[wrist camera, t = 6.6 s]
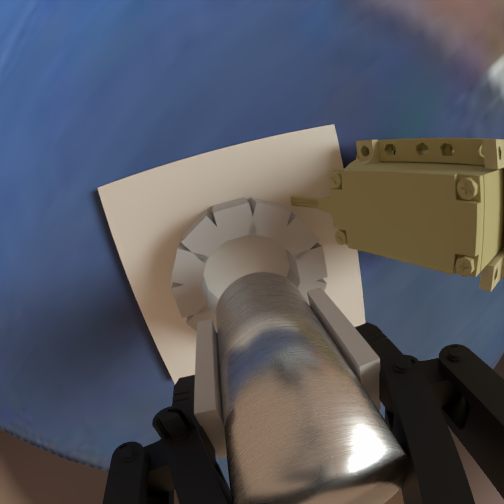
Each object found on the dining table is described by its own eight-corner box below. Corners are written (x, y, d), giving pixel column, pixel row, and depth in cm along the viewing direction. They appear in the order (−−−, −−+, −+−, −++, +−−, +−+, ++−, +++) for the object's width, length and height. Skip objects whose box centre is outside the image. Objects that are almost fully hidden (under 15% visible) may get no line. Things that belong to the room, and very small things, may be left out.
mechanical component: (400, 207, 33) (568, 236, 16) (277, 250, 25) (543, 337, 8) (394, 138, 31) (570, 145, 14) (262, 151, 23) (567, 144, 6)
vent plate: (101, 186, 22) (82, 192, 18) (329, 125, 23) (350, 120, 19) (175, 377, 28) (172, 406, 24) (361, 324, 28) (380, 346, 25)
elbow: (204, 286, 17) (206, 488, 5) (294, 260, 17) (421, 419, 6) (241, 390, 19) (273, 562, 8) (316, 368, 19) (394, 524, 8)
